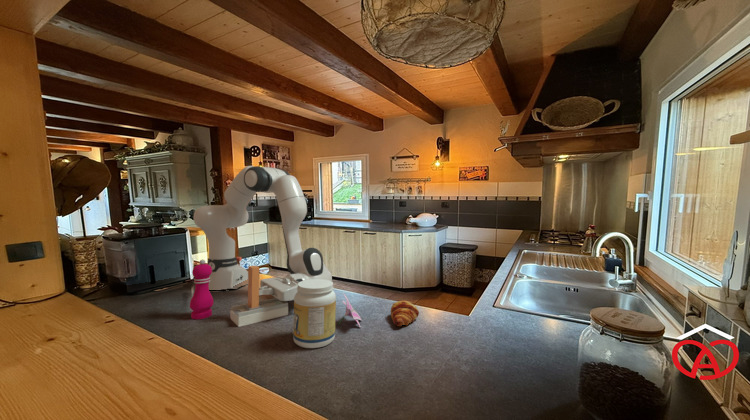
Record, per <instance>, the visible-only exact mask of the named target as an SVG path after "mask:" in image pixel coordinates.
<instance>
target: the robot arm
mask: <svg viewBox="0 0 750 420" xmlns="http://www.w3.org/2000/svg"><path fill="white" fill-rule="evenodd" d="M256 193H264V194H265V193H266V194H271V193H273V194H274V195H275V198H276V201H277V205H278V209H279V213H280V216H281V218H280V219H281V225H282V232H283V233H282V234H283V238H284V244H285V248H286V254H287V255H286V256H287V257H286V258H287V259H286V269H287V271H288V274H287V275H285V278H281V277H269V278H263V279H261V280H259V296H270V295H271V296H272V297H273V298H277V299H279V301H280V302H288V301H289V302H291V301H294V296H295V294H296V293H297V292H298V291H297V288H298V283H299V282H301V281H304V280H310V279H324V280H329V281H332V282H333V277H332V275H333V274H332V273H331V271H330V270H329V269H328V268H327V266H326V265H325V262H324V257H323V255H322V252H321V251H320V250H319V249H318V248H316V247H308V248H305V249H304V250H303V249H302V244H301V239H300V233H299V232H300V231H299V230H300V226H301V224H302V223H303V220H304V219H305V218H306V216H307V213H308V205H307V201H306V198H305V195H304V193H303V188H302V186H301V185H300V183H299V180H298V179H297V178H296V177H295V176H294V175H291V174H290V173H289V172H288V171H286V170H284V169H281V168H276V167H271V166H269V167H268V166H258V165H257V166H254V165H247V166H245V167H243V168H242V169H241V170H240V171H238V173H237V174H236V175H235V177H234V178H233V179H232V180H231V182H230V184H229V185H228V187H227V188H226V190H225V191H224V193H223V198H224V200H225V202H226V203H225V204H222V205H219V204H213V205H212V204H209V205H204V206H199V207H198V208H196V209H195V211H194V213H193V223H194V224H195V226H196V227H197V228H199V229H200V230H202V232H203V233H204V235H205V236H206V239H207V243H208V258H207V264H208V265H210V266H211V268H212V273H211V275H210V276H209V277H210V282H209V290H221V289H227V288H233V286H235V285H237V284H239V283H241V282H243V281H245V280H247V279H248V269H246V268H244V267H243V266H241V265H240V264H239V263H238V262H241V261H242V259H243V257H242V256H237V257H236V241H235V239H234V238H232V237H231V236H229V234H228V232H227V229H234V228H240V227H242V226H246V224H247V223H248V221H249V218H250V217H249V212H248V210H247V207H248V205H249V204H250V202H251V201H252V200H253V198H254V197H255V195H256Z"/></svg>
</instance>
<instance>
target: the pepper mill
mask: <svg viewBox="0 0 750 420" xmlns="http://www.w3.org/2000/svg"><path fill="white" fill-rule="evenodd" d="M191 273H192V276H193V277H194V278H193V280H194V281H193V283H194V285H195V286H194V287H195V289H194V293H193V294H192V297H191V299H190V301H189V309H190V310H191V312H190V313H191V314H190V318H191V319H192V320H204V319H208V318H210V317H212V316H213V310H212V307H213V306H214V303H215V302H214V298H213V296H212V294H211V291H209V282H210V277H209V276H210V275H211V273H212V268H211V266H210V265H208V263H206V260H205V259H201V260H199V264H197V265H195V266H194V267H193V268H192V271H191Z"/></svg>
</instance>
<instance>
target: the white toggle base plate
mask: <svg viewBox="0 0 750 420" xmlns="http://www.w3.org/2000/svg"><path fill="white" fill-rule="evenodd" d="M246 304H248V302H247V303H243V304H239V305H232V306H230V317H229V318H230V320H231V321H232V322H233V323H234V324H235V325H236V326H237V327H238V328H239V327H243V326H244V327H245V326H247V325H252V324H256V323H261V322H264V321H268V320H272V319H276V318H277V319H278V318H279V317H285V316H288V315H289V303H288V302H283V301H280V300H279V299H277V298H276V297H272V298H267V299H263V300H259V305H260V306H261V307H262V308H259V309H254V310H250V311H248V310H246V309H245V308H244V305H246Z"/></svg>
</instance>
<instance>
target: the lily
mask: <svg viewBox="0 0 750 420" xmlns="http://www.w3.org/2000/svg"><path fill="white" fill-rule="evenodd" d="M342 294H343V296H344V297H345V300H342V303H343V304H344V305H345V313H344V315H343V316H342V318H341V319H340V321H339V322H338V324H337V325H338V326H339V325H340V324H341V323H342V320H344V318H345V317H346V316H347V317H350V318H352V319H354V320H355V322H356V323H357V324H358V326H359V327H361V325H360V322H359V320H360V321H363V320H362V318H361V316H360V315H359V313H358V312H357V311H356V308H354V307H353V306H352V304H351V303H350V301H349V299H348V297H347V296H346V294H345V293H344V292H343V293H342Z"/></svg>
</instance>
